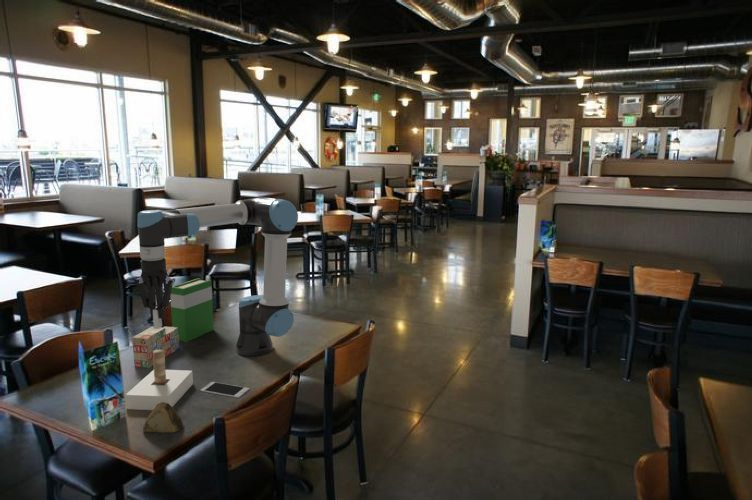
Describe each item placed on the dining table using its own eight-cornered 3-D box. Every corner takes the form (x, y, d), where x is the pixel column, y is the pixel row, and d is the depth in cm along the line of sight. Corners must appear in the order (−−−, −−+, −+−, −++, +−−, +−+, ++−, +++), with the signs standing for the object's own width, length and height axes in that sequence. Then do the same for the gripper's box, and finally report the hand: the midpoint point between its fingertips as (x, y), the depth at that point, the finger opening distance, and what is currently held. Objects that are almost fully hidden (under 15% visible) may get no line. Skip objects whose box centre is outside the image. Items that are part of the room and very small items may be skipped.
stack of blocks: (166, 346, 223) (164, 319, 221) (179, 348, 222) (178, 320, 220) (134, 366, 203) (132, 336, 200) (148, 368, 201) (146, 338, 199)
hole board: (193, 383, 189) (192, 370, 188) (168, 410, 169) (168, 396, 168) (154, 382, 190) (154, 369, 189) (126, 409, 170) (125, 394, 169)
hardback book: (201, 327, 247) (198, 278, 243) (213, 330, 244) (211, 280, 240) (172, 339, 231) (169, 286, 227) (185, 342, 229) (183, 289, 224)
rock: (131, 428, 154) (156, 432, 150) (142, 399, 158) (166, 402, 154) (158, 435, 163) (182, 439, 159) (168, 407, 167) (191, 410, 162)
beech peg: (169, 393, 181) (166, 349, 178) (164, 398, 178) (161, 353, 175) (158, 393, 182) (155, 349, 178) (153, 398, 178) (150, 353, 175)
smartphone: (238, 399, 179) (238, 396, 179) (200, 392, 184) (199, 389, 183) (249, 390, 186) (249, 387, 186) (212, 383, 190) (212, 381, 190)
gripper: (127, 260, 167) (133, 330, 172) (167, 261, 166) (172, 331, 171) (139, 255, 174) (144, 323, 179) (177, 256, 174) (181, 324, 178)
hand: (158, 327), depth 175 cm, fingers closed
